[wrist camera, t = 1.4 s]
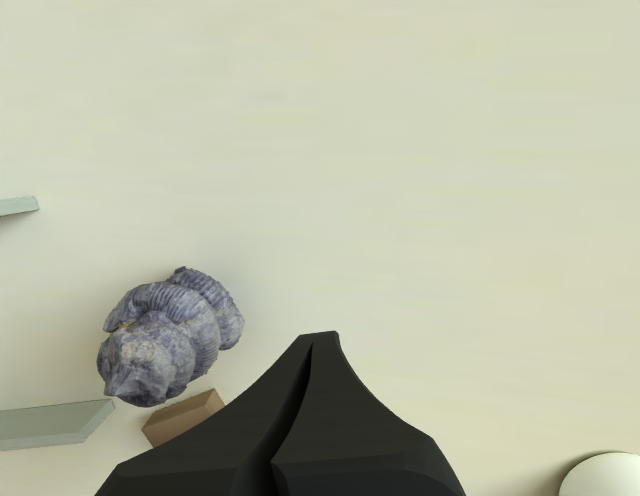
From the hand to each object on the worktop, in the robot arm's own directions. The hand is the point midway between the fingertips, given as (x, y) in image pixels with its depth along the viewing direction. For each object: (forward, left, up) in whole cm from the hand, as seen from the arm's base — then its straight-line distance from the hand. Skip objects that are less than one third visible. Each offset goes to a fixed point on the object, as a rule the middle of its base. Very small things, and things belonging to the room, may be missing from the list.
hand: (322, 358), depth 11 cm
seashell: (0, +7, -9) cm, 12 cm away
